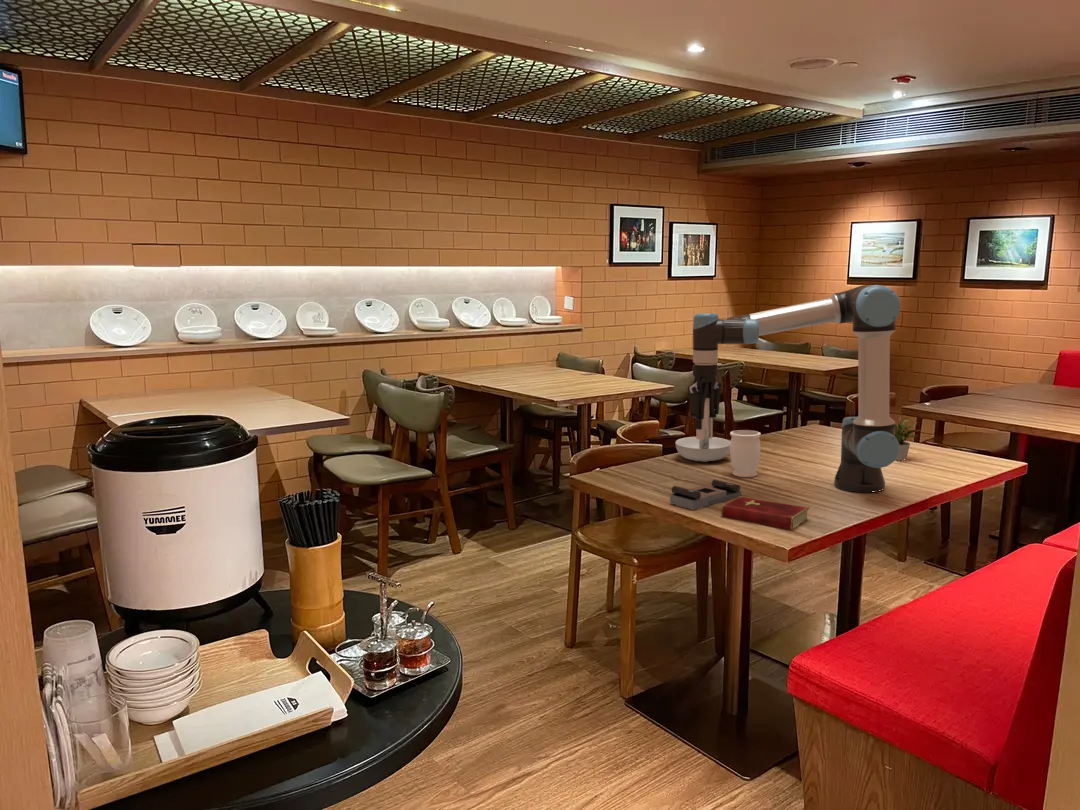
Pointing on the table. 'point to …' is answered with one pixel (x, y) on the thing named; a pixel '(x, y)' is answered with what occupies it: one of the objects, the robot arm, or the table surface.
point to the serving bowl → (692, 451)
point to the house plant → (903, 438)
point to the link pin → (706, 425)
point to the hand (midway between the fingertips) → (704, 438)
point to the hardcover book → (764, 512)
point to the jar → (745, 452)
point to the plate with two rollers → (704, 494)
